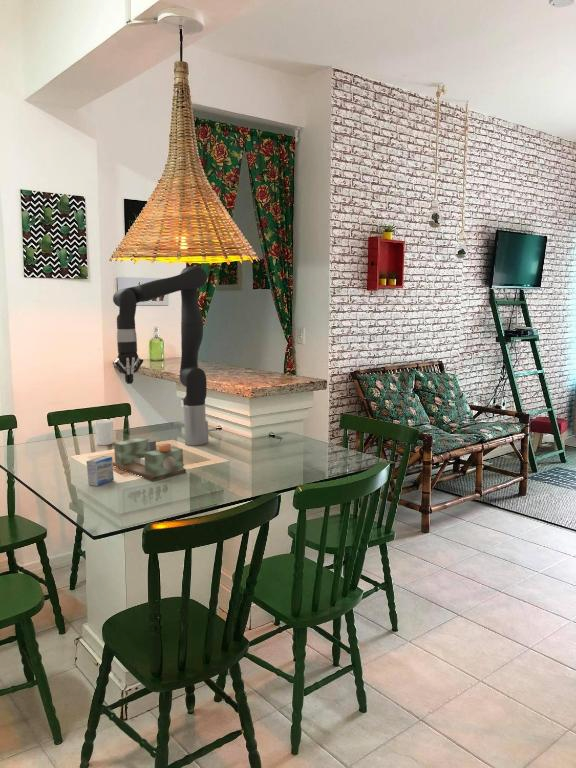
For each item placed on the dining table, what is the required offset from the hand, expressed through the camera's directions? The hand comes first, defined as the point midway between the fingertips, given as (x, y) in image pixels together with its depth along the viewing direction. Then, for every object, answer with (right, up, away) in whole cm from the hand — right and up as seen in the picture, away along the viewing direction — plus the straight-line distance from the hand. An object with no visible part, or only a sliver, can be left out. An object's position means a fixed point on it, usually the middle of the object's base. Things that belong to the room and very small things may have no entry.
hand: (129, 383), depth 255 cm
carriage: (+15, -30, -23) cm, 41 cm away
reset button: (+20, -24, -29) cm, 43 cm away
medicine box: (-1, -35, -34) cm, 49 cm away
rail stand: (+12, -32, -19) cm, 39 cm away
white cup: (-16, -26, +24) cm, 39 cm away
